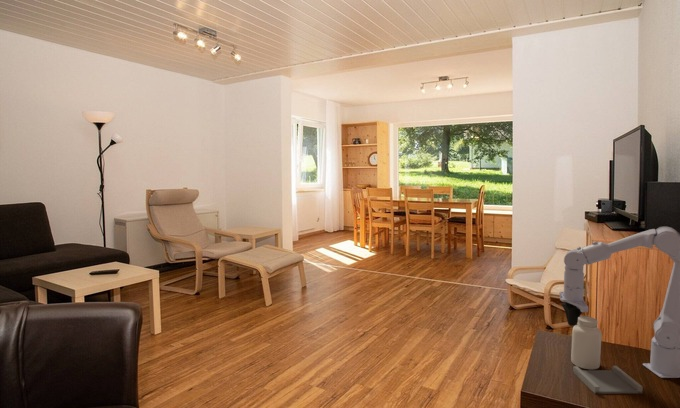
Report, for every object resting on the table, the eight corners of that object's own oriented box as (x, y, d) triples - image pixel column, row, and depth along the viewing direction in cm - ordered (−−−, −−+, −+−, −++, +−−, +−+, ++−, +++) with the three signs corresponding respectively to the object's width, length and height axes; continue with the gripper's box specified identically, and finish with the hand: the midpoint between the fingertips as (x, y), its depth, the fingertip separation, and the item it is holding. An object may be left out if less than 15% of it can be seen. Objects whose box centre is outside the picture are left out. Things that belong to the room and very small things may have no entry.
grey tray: (616, 371, 126) (616, 365, 126) (642, 393, 115) (642, 386, 115) (572, 372, 127) (573, 366, 126) (594, 393, 115) (595, 386, 115)
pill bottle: (604, 371, 127) (606, 324, 125) (576, 369, 128) (577, 323, 127) (594, 359, 134) (596, 314, 133) (567, 357, 136) (568, 313, 134)
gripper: (551, 279, 145) (550, 316, 146) (572, 293, 130) (571, 334, 132) (571, 279, 144) (570, 316, 146) (595, 292, 130) (593, 334, 131)
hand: (572, 325), depth 139 cm, fingers closed
